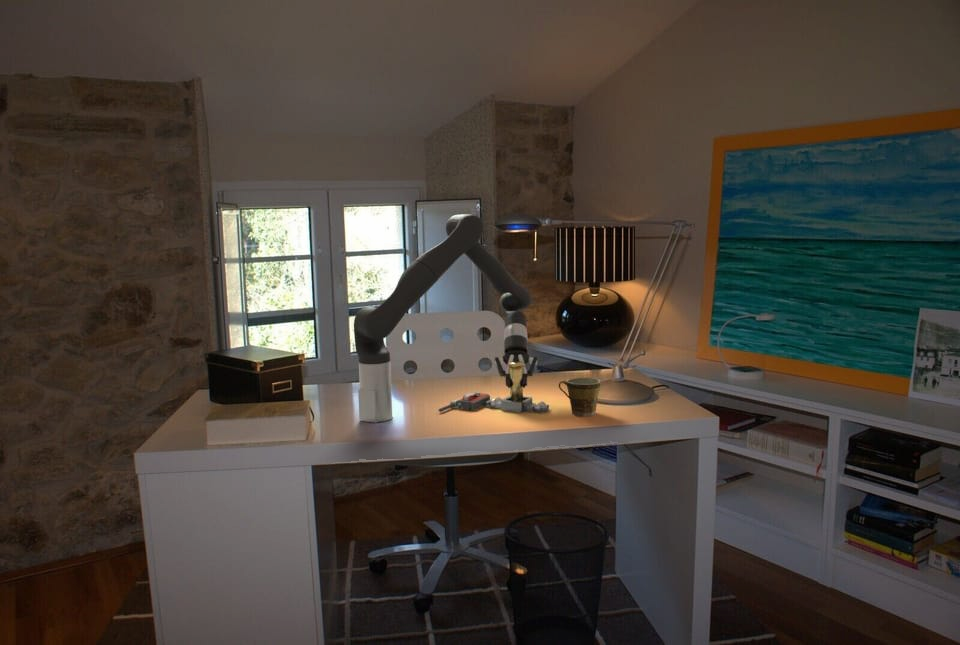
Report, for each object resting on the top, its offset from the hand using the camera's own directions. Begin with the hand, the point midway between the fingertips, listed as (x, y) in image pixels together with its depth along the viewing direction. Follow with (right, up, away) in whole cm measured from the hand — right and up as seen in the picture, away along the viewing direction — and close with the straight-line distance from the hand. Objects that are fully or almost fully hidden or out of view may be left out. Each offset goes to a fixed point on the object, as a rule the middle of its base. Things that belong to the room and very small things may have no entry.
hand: (516, 386), depth 223 cm
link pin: (0, -5, +3) cm, 5 cm away
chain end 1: (-5, -7, +6) cm, 10 cm away
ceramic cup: (+18, -8, -4) cm, 21 cm away
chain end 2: (+3, -7, +2) cm, 8 cm away
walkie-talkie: (-16, -8, +6) cm, 18 cm away
